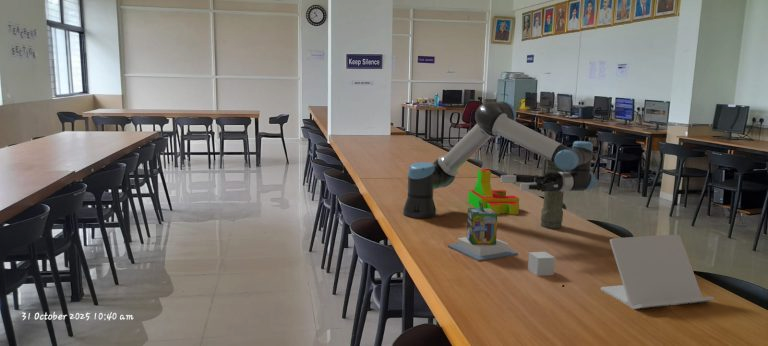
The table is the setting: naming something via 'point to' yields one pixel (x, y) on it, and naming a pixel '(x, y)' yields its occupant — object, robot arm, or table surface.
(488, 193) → the building blocks toy
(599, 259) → the table surface
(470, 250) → the base block
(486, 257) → the board
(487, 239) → the chalk box
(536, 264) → the white cube
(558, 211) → the dark piece
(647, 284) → the tablet stand
